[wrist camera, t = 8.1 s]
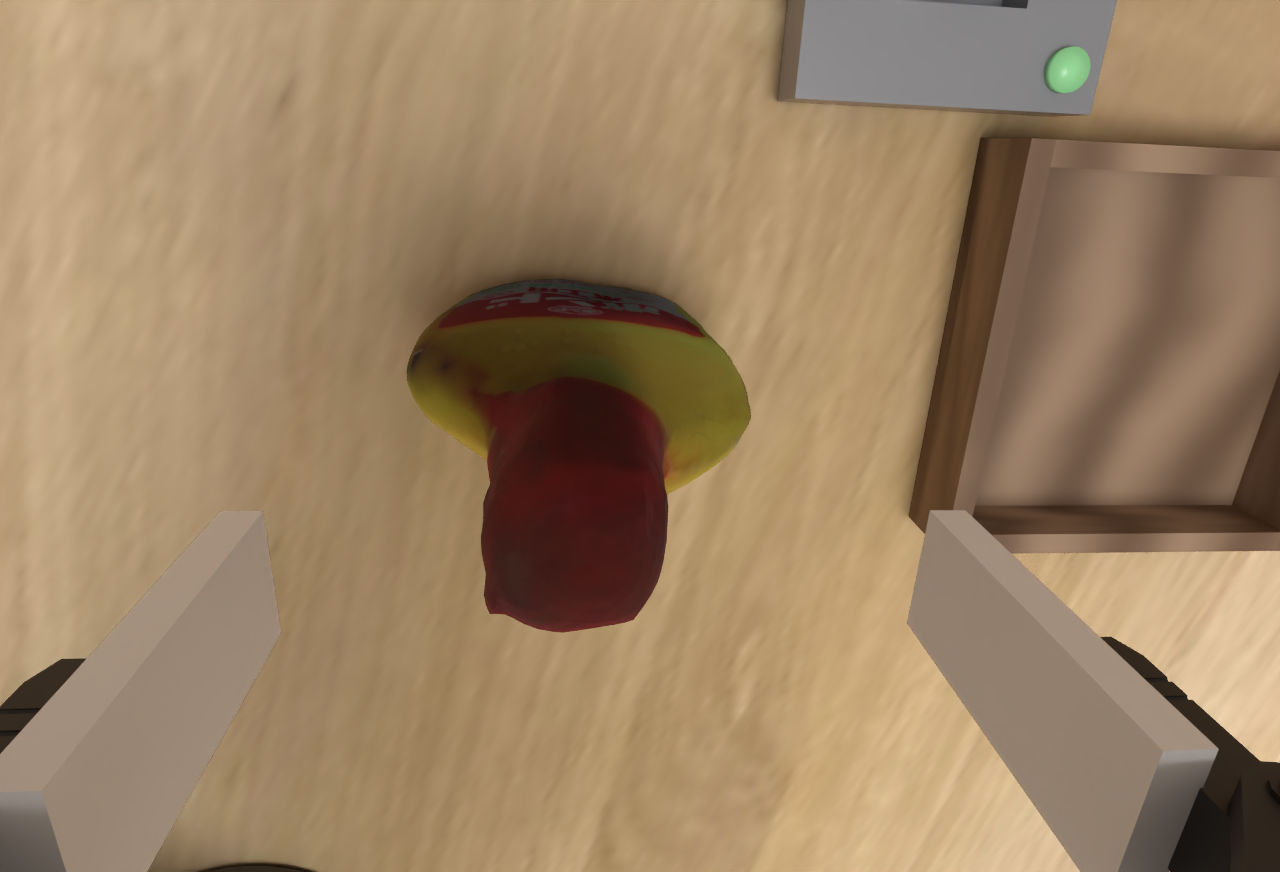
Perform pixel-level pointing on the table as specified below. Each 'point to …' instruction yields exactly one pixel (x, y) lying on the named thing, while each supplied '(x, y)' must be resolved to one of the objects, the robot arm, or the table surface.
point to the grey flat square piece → (946, 54)
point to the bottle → (577, 436)
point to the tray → (1112, 351)
